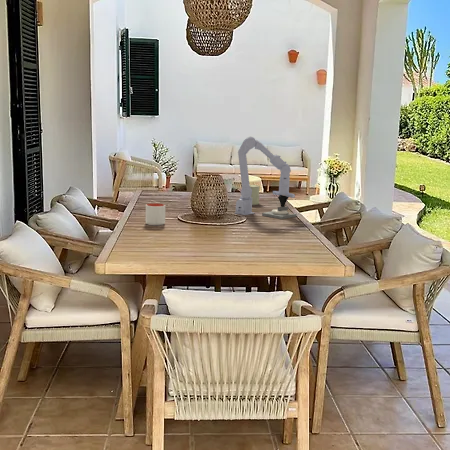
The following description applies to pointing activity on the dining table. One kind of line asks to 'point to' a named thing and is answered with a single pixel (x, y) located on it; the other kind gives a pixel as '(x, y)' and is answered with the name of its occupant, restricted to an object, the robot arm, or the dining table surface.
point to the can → (255, 194)
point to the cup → (155, 214)
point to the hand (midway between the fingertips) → (282, 208)
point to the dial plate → (288, 215)
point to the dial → (280, 210)
